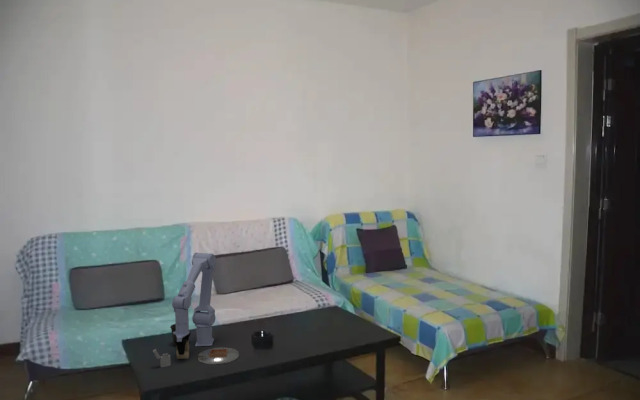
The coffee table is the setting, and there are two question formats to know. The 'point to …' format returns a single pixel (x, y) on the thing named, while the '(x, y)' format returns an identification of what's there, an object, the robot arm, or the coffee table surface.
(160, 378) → the coffee table surface
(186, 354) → the wood grain block
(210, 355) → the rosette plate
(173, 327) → the coffee cup
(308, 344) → the coffee table surface
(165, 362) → the lighter
